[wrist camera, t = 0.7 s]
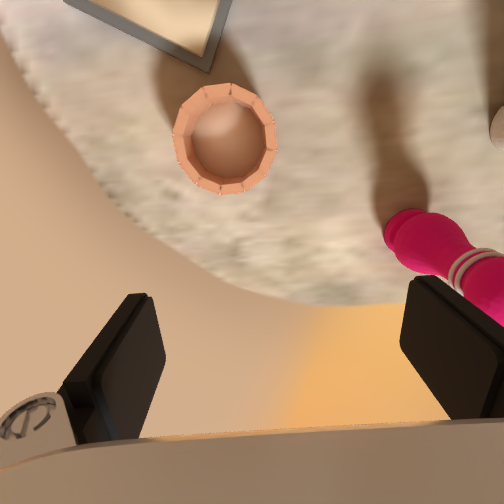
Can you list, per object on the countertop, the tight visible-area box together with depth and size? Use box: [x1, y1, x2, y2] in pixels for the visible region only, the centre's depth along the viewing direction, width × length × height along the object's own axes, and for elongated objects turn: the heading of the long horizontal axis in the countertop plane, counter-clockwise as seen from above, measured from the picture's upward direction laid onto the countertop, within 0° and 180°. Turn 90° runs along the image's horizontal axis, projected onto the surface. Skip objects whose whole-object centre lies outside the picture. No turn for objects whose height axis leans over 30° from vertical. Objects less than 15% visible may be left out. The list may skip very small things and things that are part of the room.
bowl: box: [172, 83, 277, 195], centre depth 31 cm, size 10×10×6 cm
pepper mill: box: [384, 209, 504, 327], centre depth 29 cm, size 7×7×20 cm
